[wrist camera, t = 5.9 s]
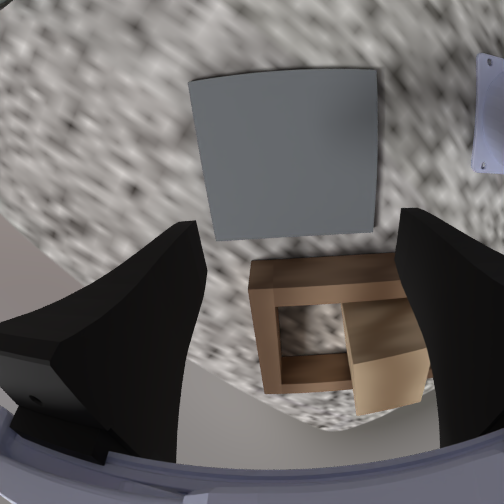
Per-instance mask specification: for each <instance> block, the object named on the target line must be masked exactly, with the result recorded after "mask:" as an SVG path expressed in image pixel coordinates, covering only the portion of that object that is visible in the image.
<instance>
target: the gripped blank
mask: <svg viewBox="0 0 504 504" xmlns="http://www.w3.org/2000/svg"><path fill="white" fill-rule="evenodd" d="M341 309H342V316H343V324H344V332H345V340H346V348H347V354H348V360H349V367H350V373H351V379H352V386H353V393H354V400H355V408H356V415H357V416H359V415H365V414H370V413H375V412H379V411H384V410H388V409H393V408H397V407H401V406H405V405H409V404H413V403H417V402H420V401H421V398H422V394H423V390H424V387H425V383H426V379H427V375H428V371H429V367H430V360H429V356H428V352H427V348H426V344H425V341H424V338H423V335H422V332H421V330H420V327H419V325H418V322H417V320H416V318H415V315H414V313H413V310H412V308H411V306H410V303H409V301H408V299H407V297H406V298H396V299H385V300H373V301H361V302H348V303H341Z"/></svg>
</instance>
